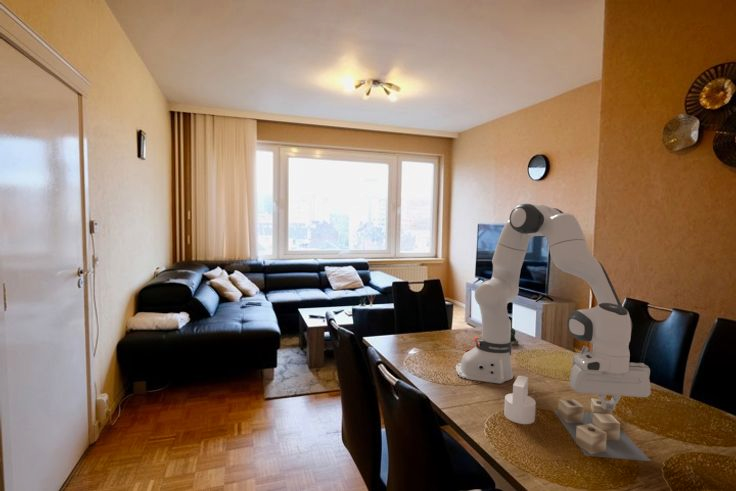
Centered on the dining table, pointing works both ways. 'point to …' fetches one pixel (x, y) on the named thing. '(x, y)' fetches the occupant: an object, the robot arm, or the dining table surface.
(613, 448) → the mat
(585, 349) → the lighter
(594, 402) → the marked block
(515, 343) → the frog figurine
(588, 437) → the marked block
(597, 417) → the plain block
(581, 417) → the marked block
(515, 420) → the cylinder with rectangular tab
